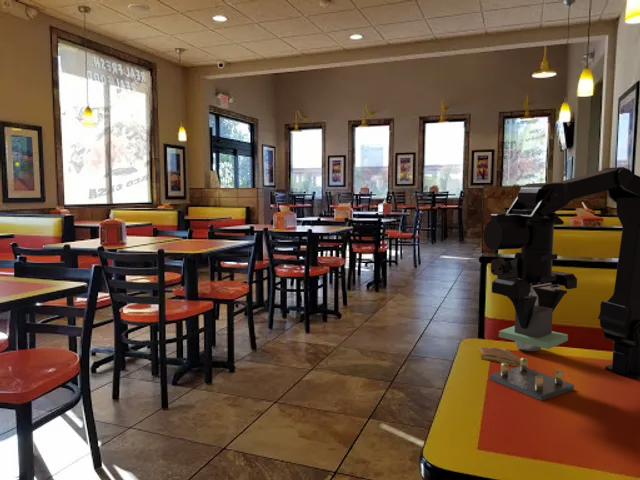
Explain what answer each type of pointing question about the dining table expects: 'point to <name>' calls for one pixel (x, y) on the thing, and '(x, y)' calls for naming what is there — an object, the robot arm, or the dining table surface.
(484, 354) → the shard
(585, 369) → the dining table surface
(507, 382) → the chassis
